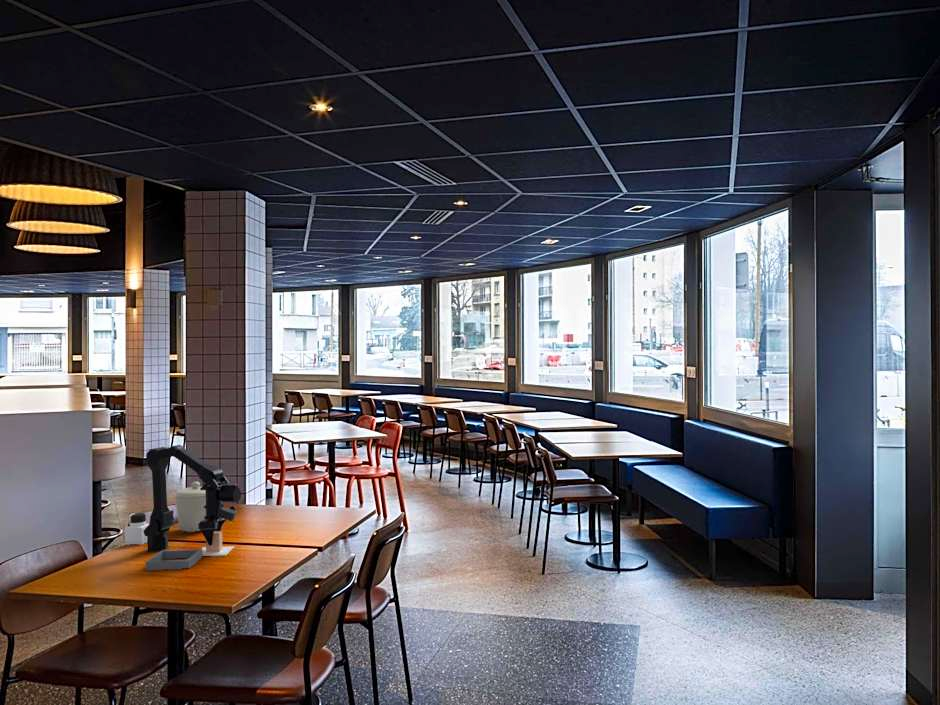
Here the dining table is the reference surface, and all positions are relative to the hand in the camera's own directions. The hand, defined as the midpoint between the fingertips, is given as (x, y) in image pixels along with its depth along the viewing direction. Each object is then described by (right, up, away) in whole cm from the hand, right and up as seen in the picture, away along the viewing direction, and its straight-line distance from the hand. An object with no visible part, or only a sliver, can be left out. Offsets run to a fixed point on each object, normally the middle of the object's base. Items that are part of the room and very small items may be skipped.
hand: (214, 542), depth 278 cm
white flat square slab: (0, -4, 0) cm, 4 cm away
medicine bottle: (-37, -5, +17) cm, 41 cm away
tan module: (0, -3, 0) cm, 3 cm away
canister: (-21, -5, +38) cm, 44 cm away
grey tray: (-9, -4, -15) cm, 18 cm away
